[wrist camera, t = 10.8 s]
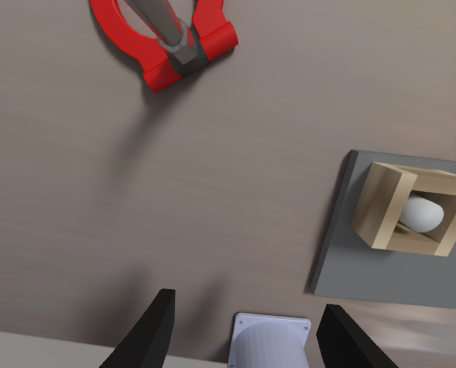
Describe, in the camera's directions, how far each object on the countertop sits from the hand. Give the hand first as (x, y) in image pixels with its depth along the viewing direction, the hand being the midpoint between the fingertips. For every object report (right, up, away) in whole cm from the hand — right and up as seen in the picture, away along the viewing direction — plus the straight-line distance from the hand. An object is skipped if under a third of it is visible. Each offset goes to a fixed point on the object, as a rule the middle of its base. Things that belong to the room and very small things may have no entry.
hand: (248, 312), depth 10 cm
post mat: (+16, +1, +9) cm, 19 cm away
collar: (+12, +5, +7) cm, 15 cm away
